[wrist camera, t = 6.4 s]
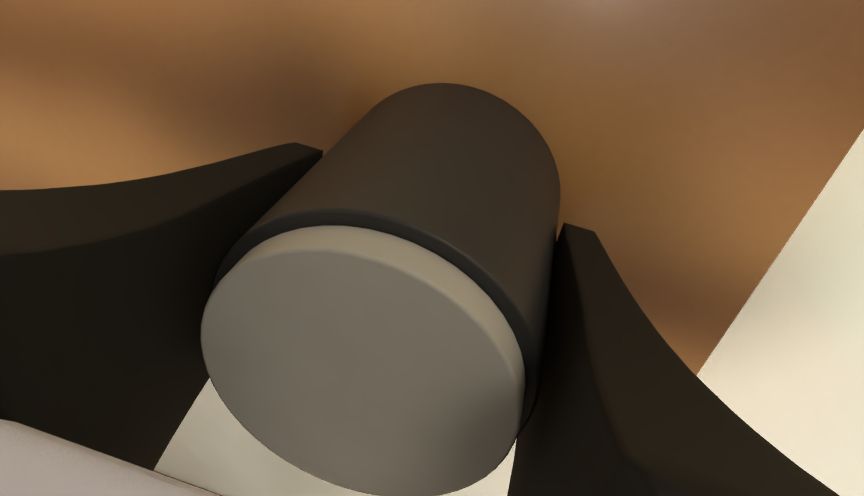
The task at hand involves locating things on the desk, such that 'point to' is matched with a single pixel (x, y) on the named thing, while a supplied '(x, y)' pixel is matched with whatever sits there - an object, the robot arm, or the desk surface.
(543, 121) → the brown wooden board
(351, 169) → the thermos cap
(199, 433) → the desk surface
